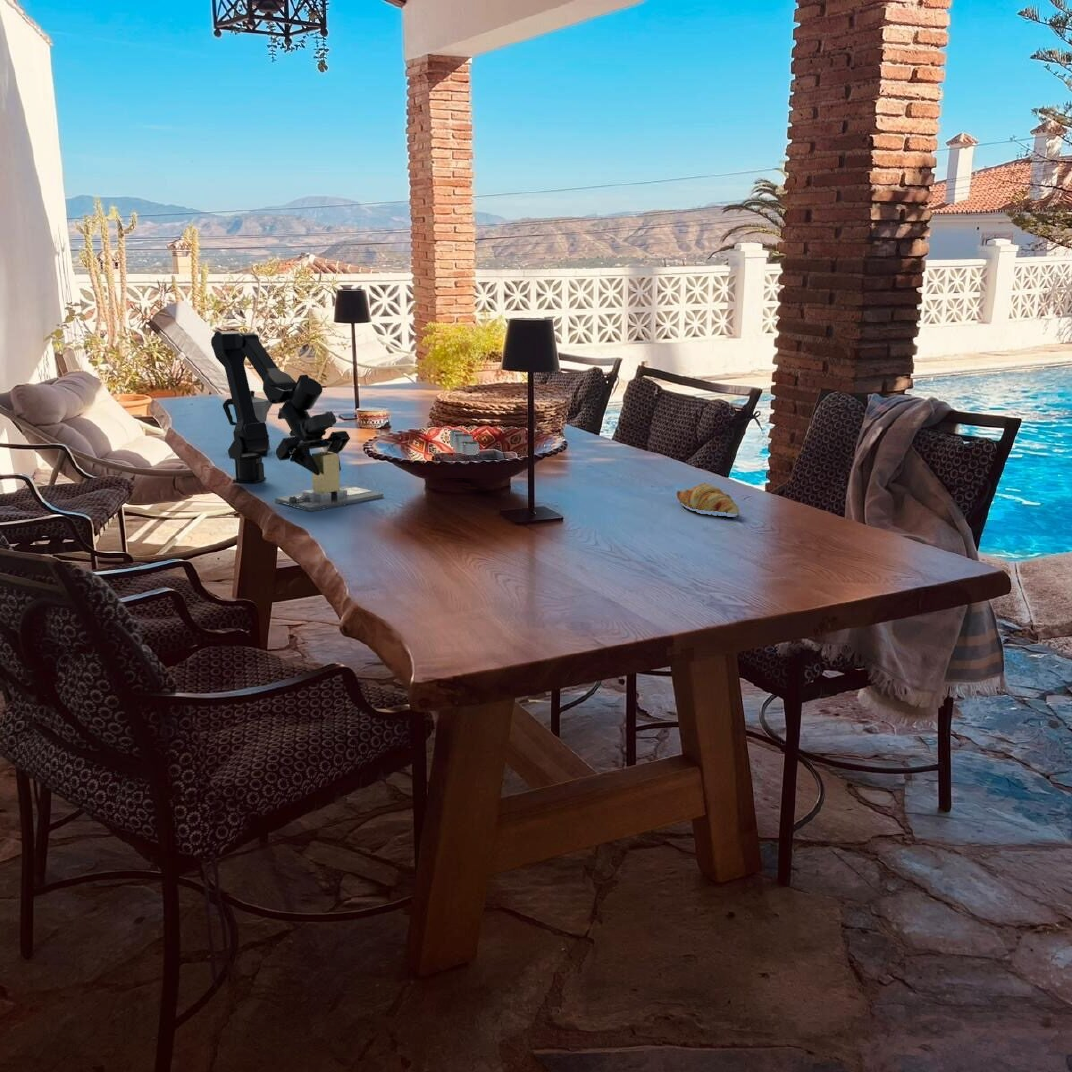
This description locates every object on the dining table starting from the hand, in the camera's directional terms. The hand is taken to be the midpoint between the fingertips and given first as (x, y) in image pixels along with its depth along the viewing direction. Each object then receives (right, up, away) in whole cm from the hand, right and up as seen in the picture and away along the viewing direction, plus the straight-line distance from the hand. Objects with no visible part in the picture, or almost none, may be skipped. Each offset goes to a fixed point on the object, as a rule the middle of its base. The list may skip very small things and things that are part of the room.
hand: (329, 472), depth 250 cm
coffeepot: (-38, +12, +71) cm, 82 cm away
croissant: (+91, -10, -1) cm, 91 cm away
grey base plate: (-1, -7, +3) cm, 7 cm away
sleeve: (-1, -4, +2) cm, 5 cm away
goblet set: (+28, 0, +31) cm, 42 cm away
